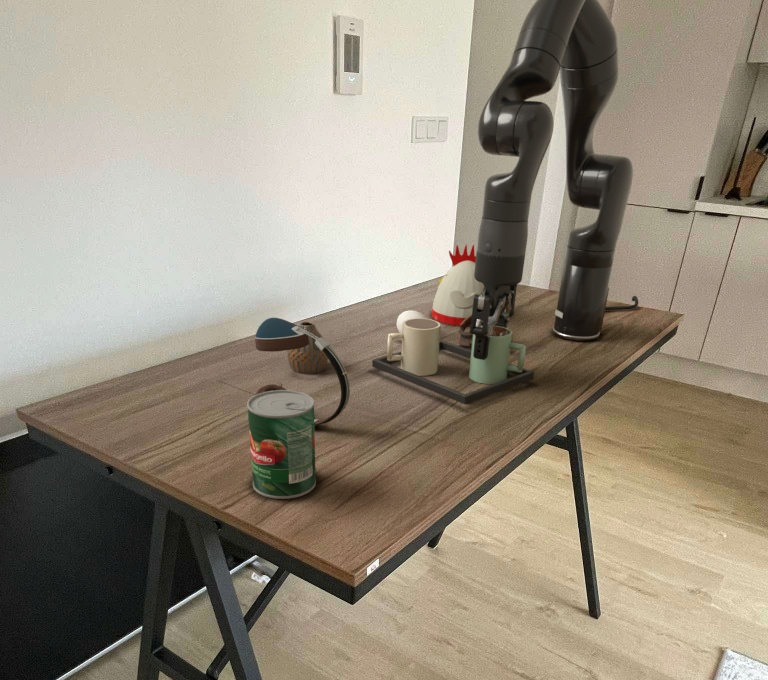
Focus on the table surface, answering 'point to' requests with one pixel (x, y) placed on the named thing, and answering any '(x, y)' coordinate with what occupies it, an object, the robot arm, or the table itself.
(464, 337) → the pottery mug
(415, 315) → the stress ball
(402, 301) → the table surface
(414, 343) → the cream cup
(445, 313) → the kitchen timer
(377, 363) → the tray
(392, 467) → the table surface
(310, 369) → the vase
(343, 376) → the headphones
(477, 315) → the robot arm
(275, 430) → the canned tomato
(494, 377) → the green cup
